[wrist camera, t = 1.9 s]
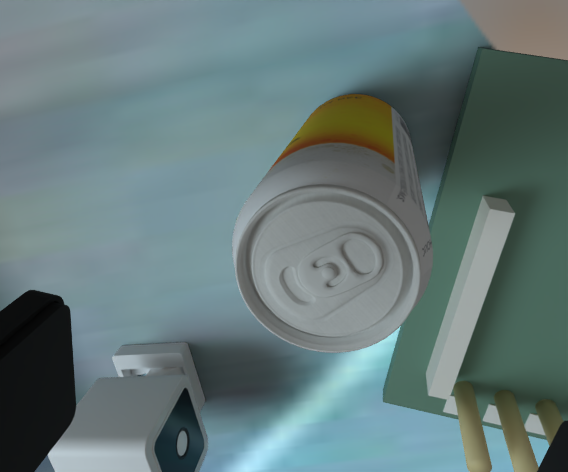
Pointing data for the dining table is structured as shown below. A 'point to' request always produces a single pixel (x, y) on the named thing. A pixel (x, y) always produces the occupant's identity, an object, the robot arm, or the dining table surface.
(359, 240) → the beer can
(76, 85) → the dining table surface
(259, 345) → the dining table surface
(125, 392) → the security camera
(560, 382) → the board
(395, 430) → the dining table surface
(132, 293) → the dining table surface
